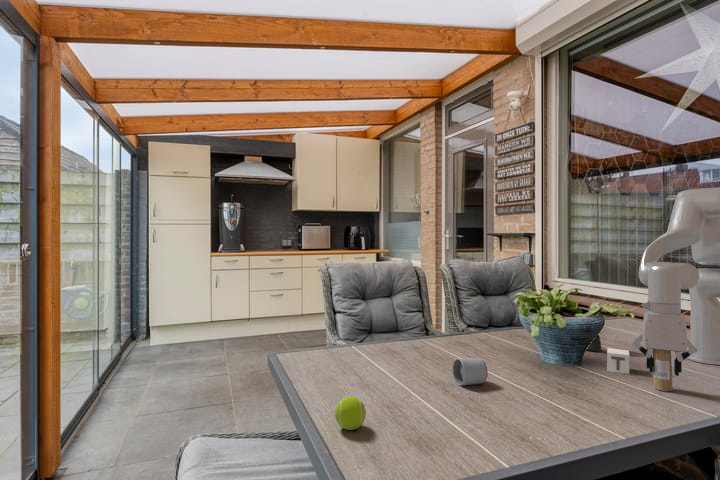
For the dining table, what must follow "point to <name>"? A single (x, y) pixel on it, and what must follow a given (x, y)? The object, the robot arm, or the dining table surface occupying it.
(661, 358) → the sprinkles bottle
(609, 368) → the lettered cube
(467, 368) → the ceramic mug
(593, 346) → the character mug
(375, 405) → the dining table surface
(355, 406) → the tennis ball
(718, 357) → the robot arm
